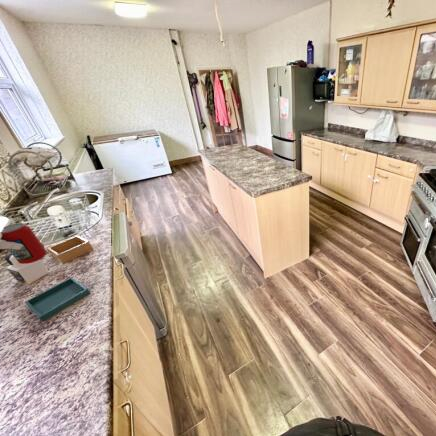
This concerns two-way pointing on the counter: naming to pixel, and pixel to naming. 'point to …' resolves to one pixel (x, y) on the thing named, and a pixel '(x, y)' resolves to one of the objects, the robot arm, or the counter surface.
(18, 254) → the beverage can
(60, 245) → the basket
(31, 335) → the counter surface
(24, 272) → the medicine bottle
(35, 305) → the tray
